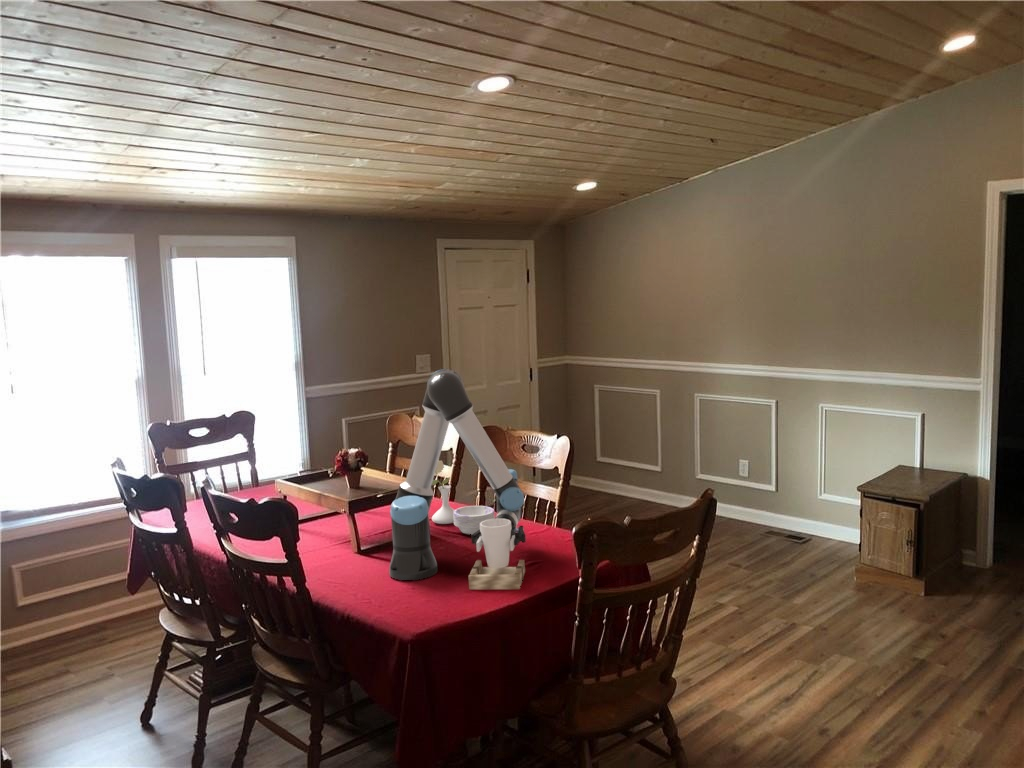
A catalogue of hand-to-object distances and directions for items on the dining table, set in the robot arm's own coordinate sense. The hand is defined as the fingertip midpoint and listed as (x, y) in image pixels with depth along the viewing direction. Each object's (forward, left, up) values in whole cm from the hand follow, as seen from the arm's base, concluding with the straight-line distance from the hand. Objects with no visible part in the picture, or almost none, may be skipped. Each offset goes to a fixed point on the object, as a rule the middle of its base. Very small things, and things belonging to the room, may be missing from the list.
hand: (494, 546), depth 236 cm
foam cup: (0, +4, -7) cm, 8 cm away
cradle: (0, +4, -12) cm, 13 cm away
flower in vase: (-30, +67, -12) cm, 75 cm away
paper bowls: (-16, +55, -12) cm, 59 cm away
